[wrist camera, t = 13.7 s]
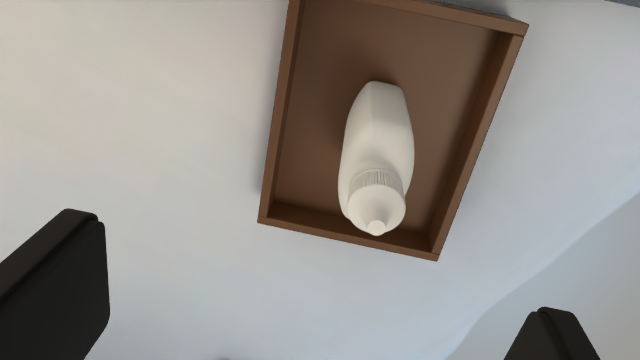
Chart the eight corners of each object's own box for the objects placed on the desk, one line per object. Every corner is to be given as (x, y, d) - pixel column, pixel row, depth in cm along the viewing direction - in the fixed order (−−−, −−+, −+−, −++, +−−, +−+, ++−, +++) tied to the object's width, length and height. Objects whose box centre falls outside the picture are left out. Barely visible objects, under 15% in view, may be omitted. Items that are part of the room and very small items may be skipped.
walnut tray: (301, -28, 25) (292, -26, 22) (511, 17, 25) (529, 24, 22) (266, 199, 32) (256, 223, 29) (431, 235, 32) (437, 262, 29)
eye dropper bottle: (431, 115, 27) (472, 216, 16) (368, 175, 29) (367, 299, 18) (380, 67, 26) (387, 141, 15) (318, 133, 28) (287, 238, 17)
